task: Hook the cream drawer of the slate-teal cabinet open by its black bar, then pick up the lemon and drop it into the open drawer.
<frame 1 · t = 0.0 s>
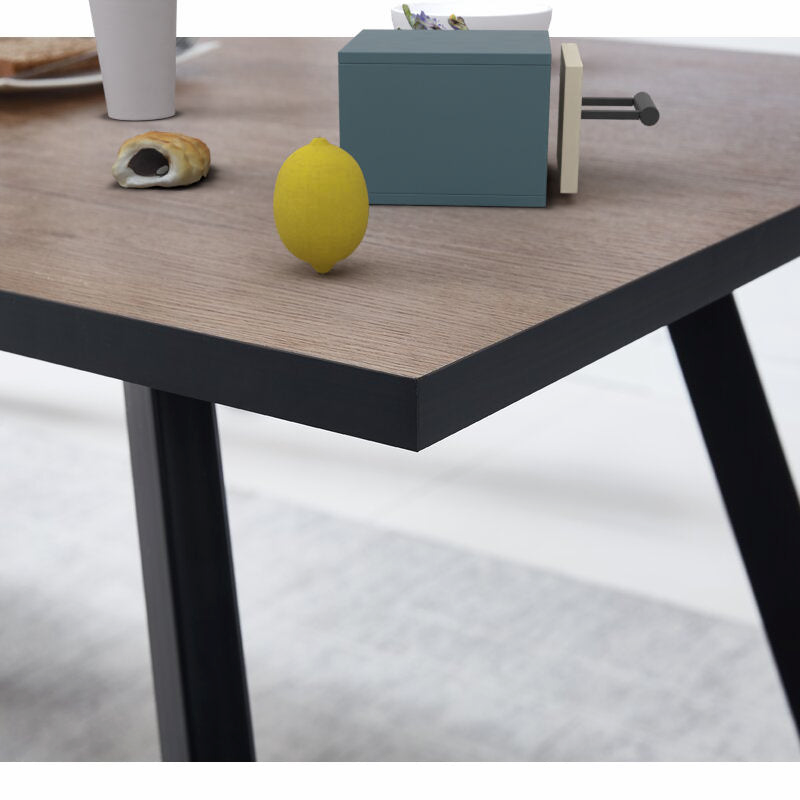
coffee cup: (142, 116, 129), on the table
bowl: (470, 69, 161), on the table
flowers: (421, 103, 136), on the table
lemon: (322, 276, 77), on the table
pastry: (165, 181, 102), on the table
cabinet: (448, 183, 100), on the table
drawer: (524, 114, 97), point 5 cm above the table, slide at 1.0 cm
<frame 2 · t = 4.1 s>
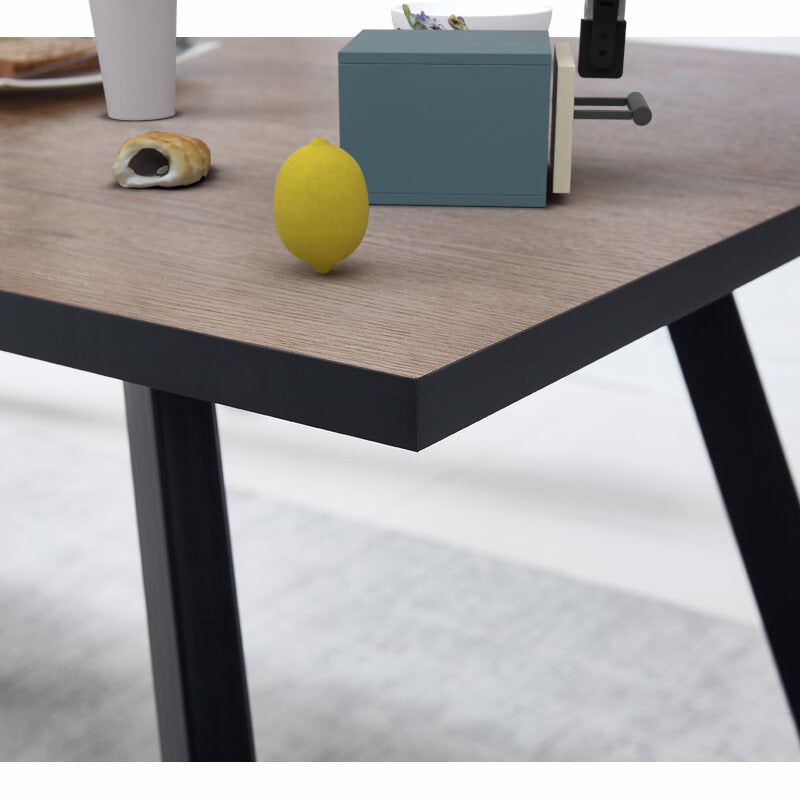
hand: (599, 76, 96), 8 cm above the table, tool pointing down, fingers closed
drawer: (517, 114, 97), point 5 cm above the table, slide at 0.5 cm
everything else where it was.
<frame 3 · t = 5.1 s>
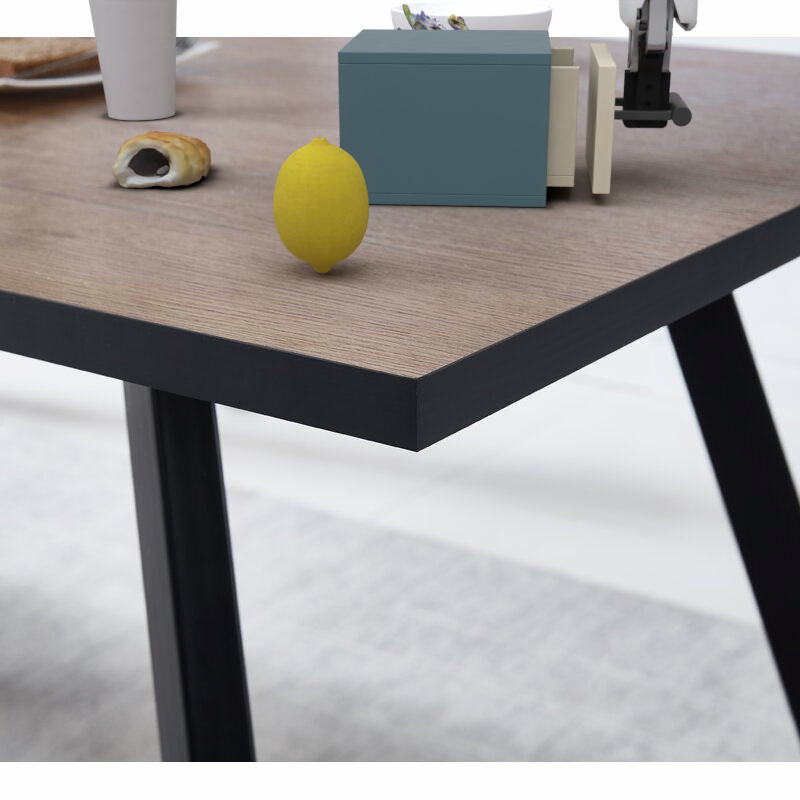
hand: (644, 125, 97), 5 cm above the table, tool pointing down, fingers closed
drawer: (554, 114, 97), point 5 cm above the table, slide at 3.3 cm, touching gripper
everything else where it was.
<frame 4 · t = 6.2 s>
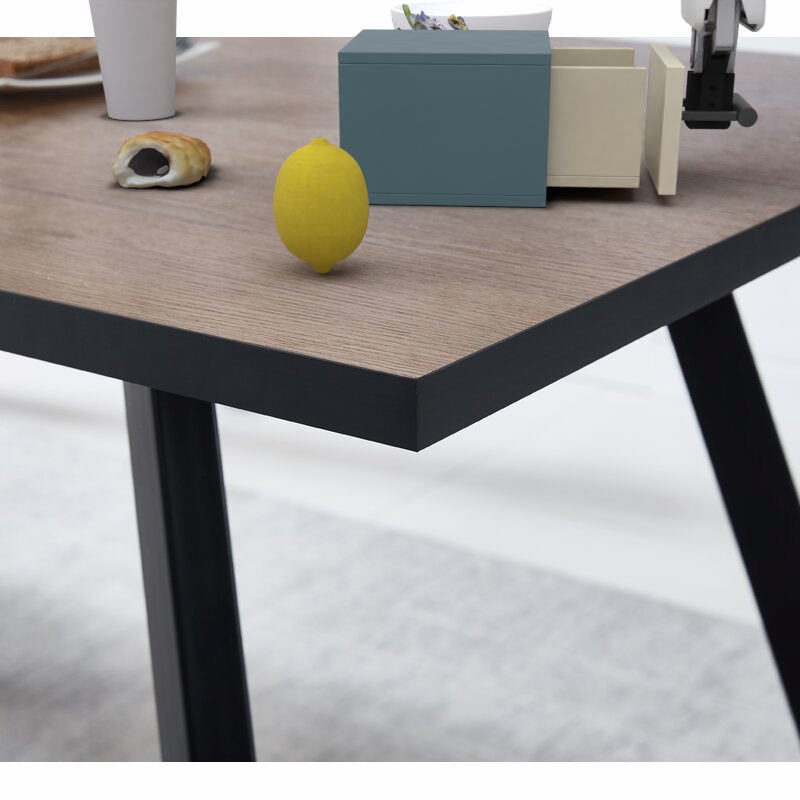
hand: (706, 126, 96), 5 cm above the table, tool pointing down, fingers closed
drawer: (617, 115, 97), point 5 cm above the table, slide at 7.9 cm
everything else where it was.
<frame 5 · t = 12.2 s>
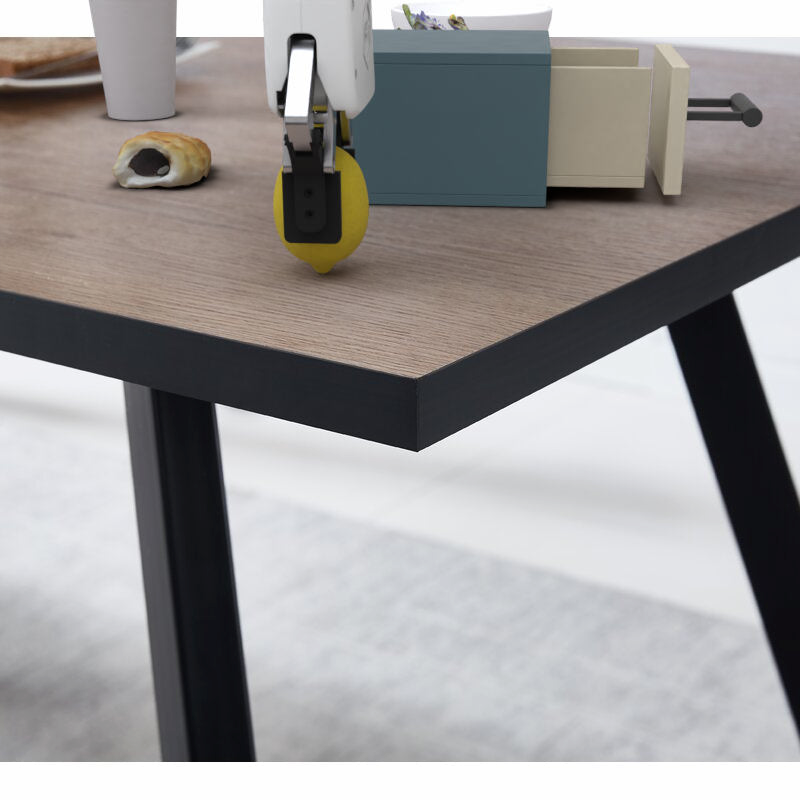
hand: (321, 225, 76), 3 cm above the table, tool pointing down, fingers closed on lemon, 5 cm apart
lemon: (322, 276, 77), on the table, touching gripper
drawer: (621, 115, 97), point 5 cm above the table, slide at 8.2 cm
everything else where it was.
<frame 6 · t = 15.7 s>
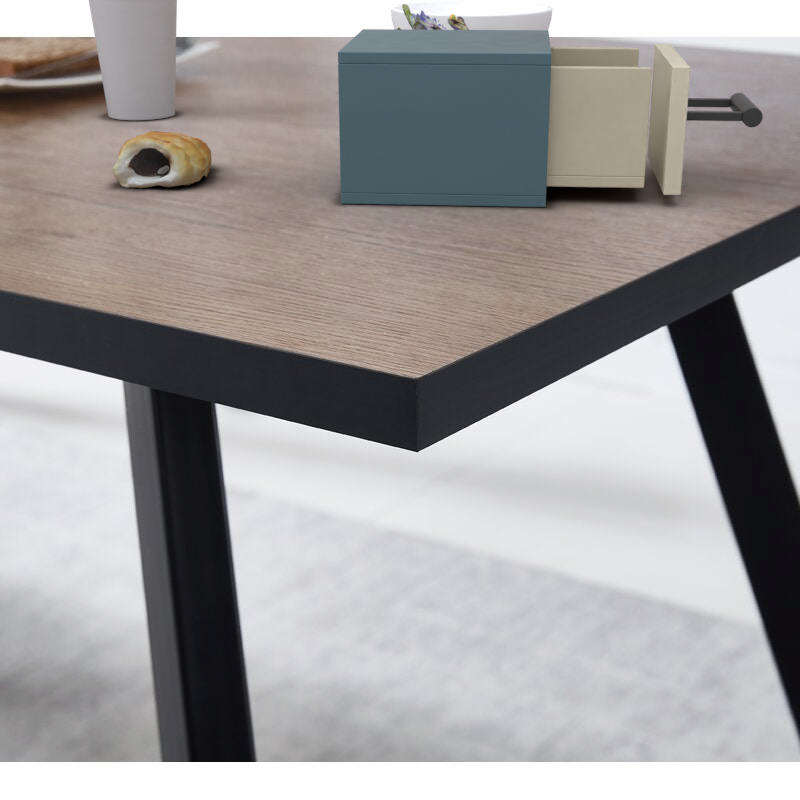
when the fingers open (9 cm above the table, at t = 19.1 s): lemon drops 4 cm, resting on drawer.
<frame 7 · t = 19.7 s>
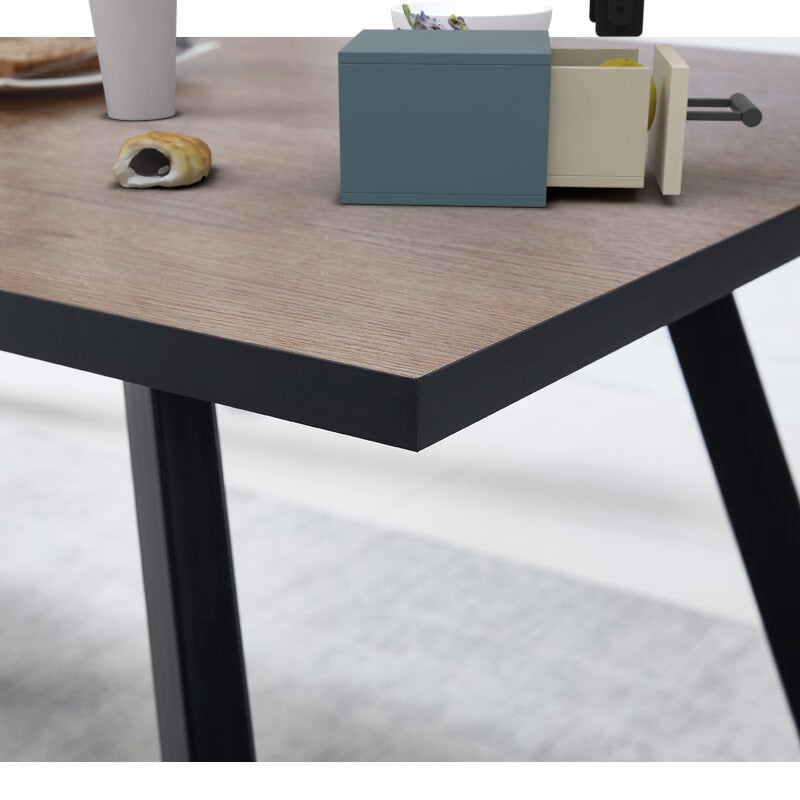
hand: (614, 28, 94), 11 cm above the table, tool pointing down, fingers open, 9 cm apart
lemon: (606, 153, 97), point 2 cm above the table, touching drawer
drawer: (621, 115, 97), point 5 cm above the table, slide at 8.2 cm, touching lemon
everything else where it was.
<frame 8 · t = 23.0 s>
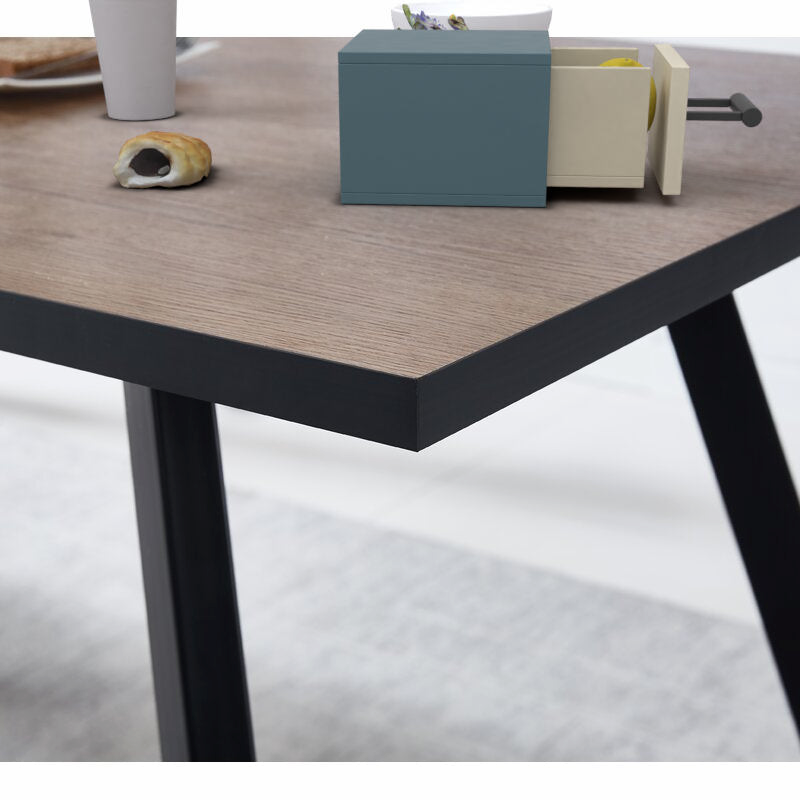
nothing on the table moved.
at the end: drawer slide at 8.2 cm; lemon inside the target area in the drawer (0.8 cm from its centre), point 2.5 cm above the cabinet's base; the gripper is holding nothing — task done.
